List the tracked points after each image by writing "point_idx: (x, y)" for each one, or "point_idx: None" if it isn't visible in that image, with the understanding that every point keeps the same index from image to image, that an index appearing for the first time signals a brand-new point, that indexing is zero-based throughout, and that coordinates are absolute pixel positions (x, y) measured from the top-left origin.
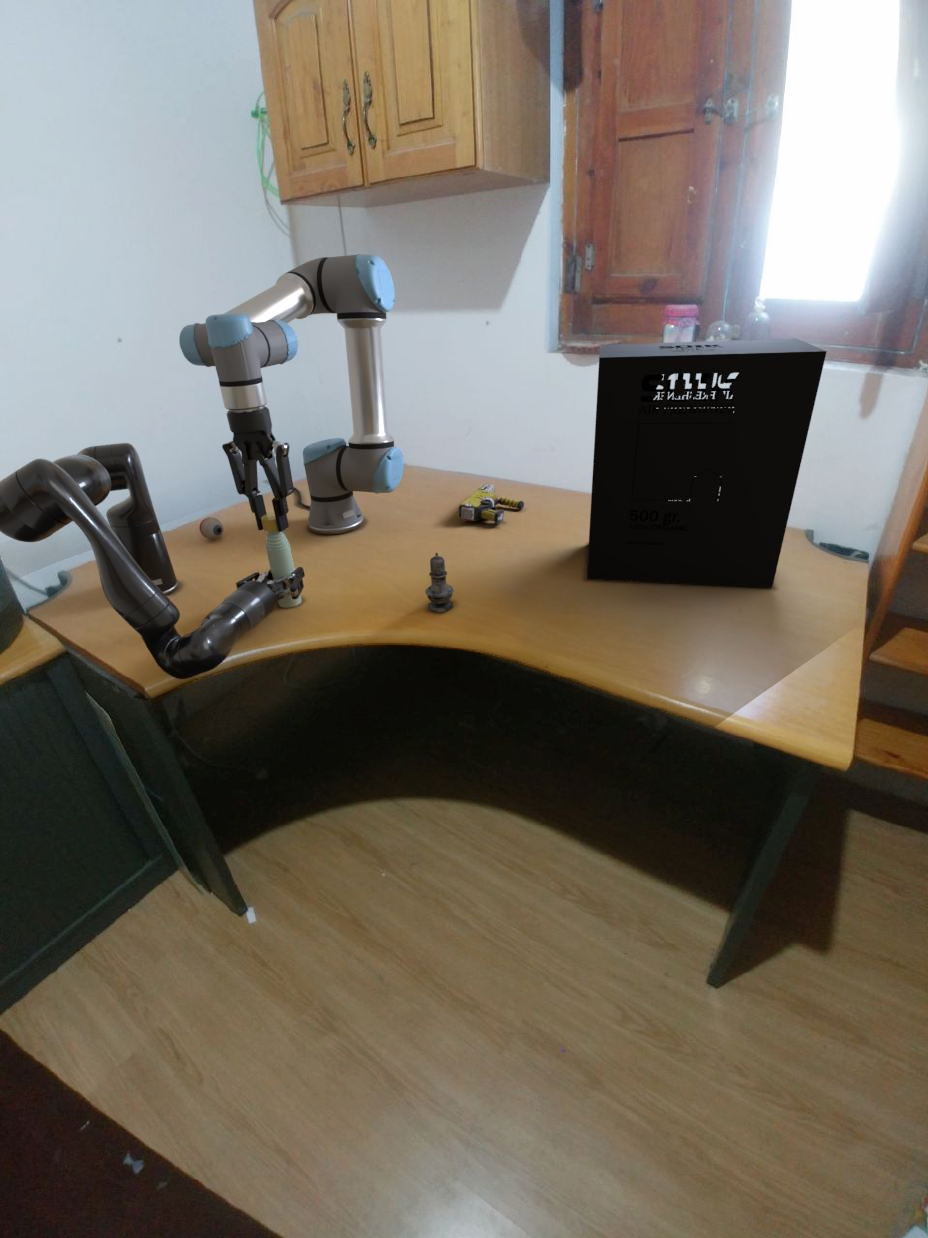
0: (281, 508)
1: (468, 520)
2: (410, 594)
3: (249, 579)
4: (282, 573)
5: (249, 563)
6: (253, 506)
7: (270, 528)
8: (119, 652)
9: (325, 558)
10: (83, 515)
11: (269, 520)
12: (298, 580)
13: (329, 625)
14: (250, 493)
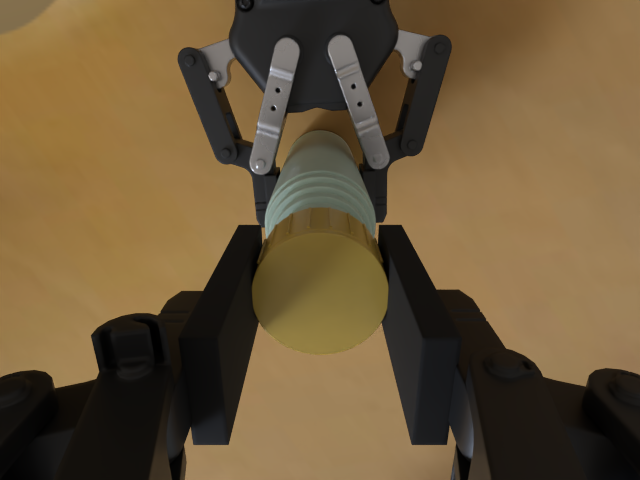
0: (179, 315)
1: None
2: (15, 277)
3: (414, 93)
4: (296, 155)
5: (572, 350)
6: (434, 297)
7: (298, 215)
8: None
9: (363, 410)
10: None
11: (291, 237)
12: (205, 122)
13: (119, 60)
14: (480, 382)
